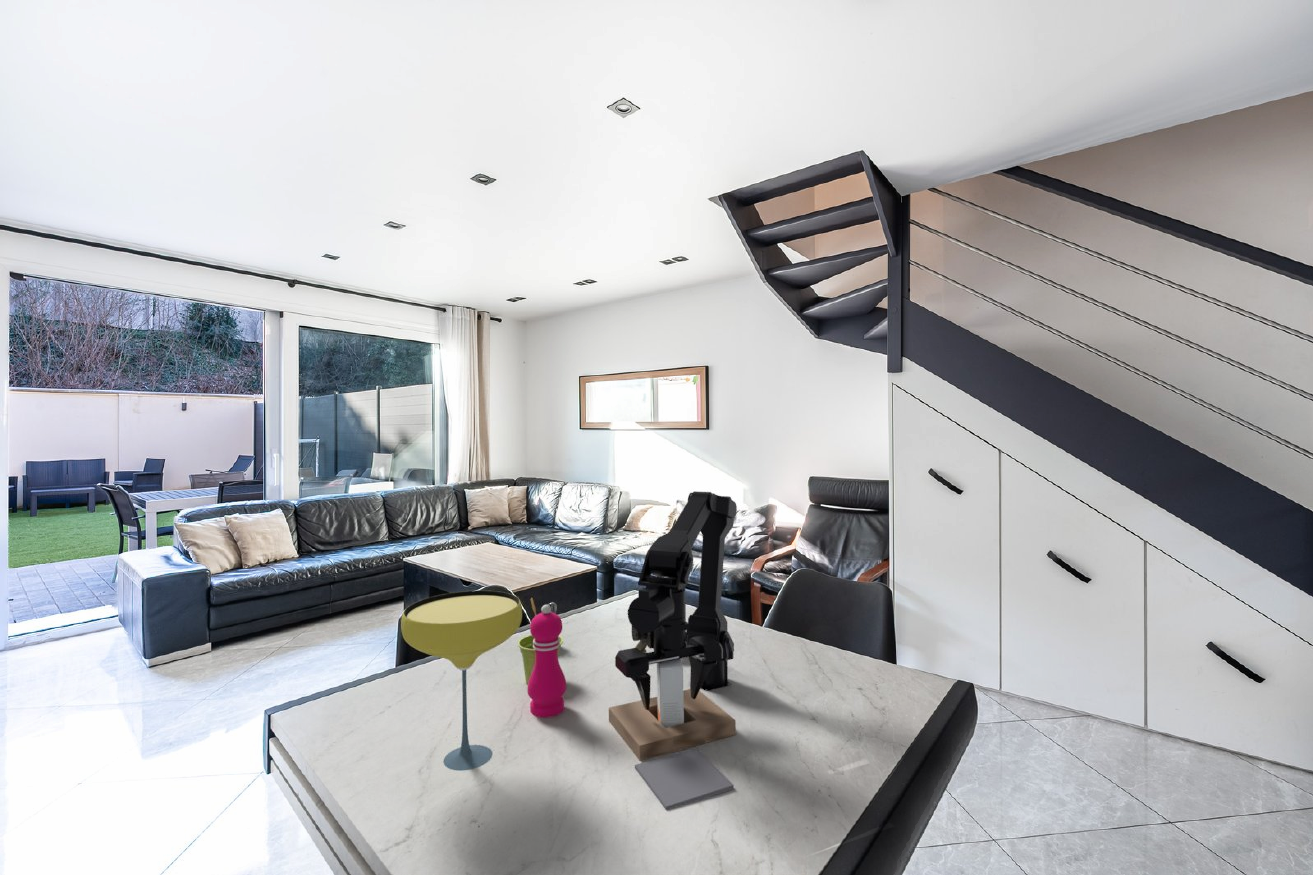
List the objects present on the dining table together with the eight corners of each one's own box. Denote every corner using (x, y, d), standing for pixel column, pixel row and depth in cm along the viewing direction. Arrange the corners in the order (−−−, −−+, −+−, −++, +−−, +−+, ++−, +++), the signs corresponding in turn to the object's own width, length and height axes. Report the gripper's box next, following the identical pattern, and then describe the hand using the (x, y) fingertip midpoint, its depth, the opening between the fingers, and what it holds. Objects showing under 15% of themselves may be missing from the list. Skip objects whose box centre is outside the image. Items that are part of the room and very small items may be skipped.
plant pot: (568, 673, 124) (568, 633, 124) (556, 692, 114) (556, 649, 114) (526, 672, 125) (526, 632, 125) (511, 691, 115) (511, 648, 115)
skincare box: (656, 720, 103) (656, 654, 103) (680, 718, 103) (679, 653, 103) (660, 738, 97) (659, 668, 97) (684, 736, 97) (684, 666, 97)
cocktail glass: (455, 814, 78) (453, 632, 78) (378, 774, 87) (376, 612, 87) (547, 751, 93) (545, 599, 93) (472, 723, 103) (471, 585, 102)
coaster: (696, 751, 93) (696, 747, 93) (733, 789, 83) (733, 784, 83) (634, 768, 88) (634, 764, 88) (665, 811, 78) (665, 806, 78)
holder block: (695, 700, 110) (695, 687, 110) (735, 734, 97) (735, 720, 97) (608, 721, 102) (608, 707, 102) (639, 761, 90) (639, 745, 90)
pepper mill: (558, 722, 103) (557, 611, 102) (521, 718, 104) (519, 609, 104) (572, 703, 110) (570, 600, 110) (537, 700, 111) (535, 598, 111)
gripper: (693, 596, 111) (694, 676, 111) (604, 610, 103) (604, 695, 103) (723, 612, 101) (724, 700, 101) (627, 628, 93) (628, 723, 93)
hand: (670, 703), depth 100 cm, fingers open, 9 cm apart
